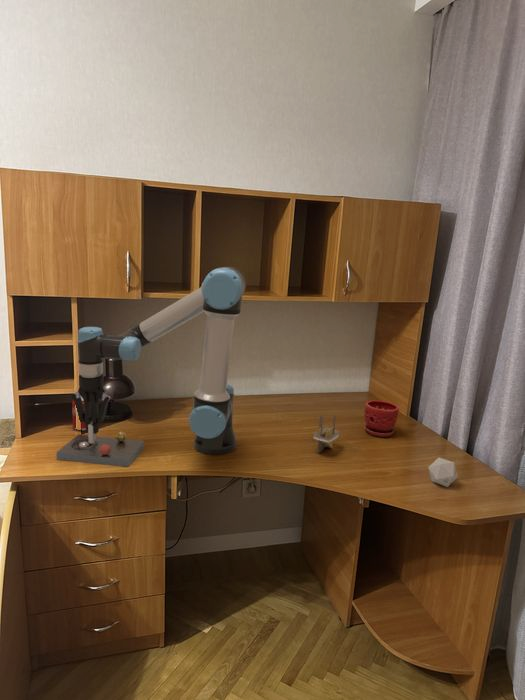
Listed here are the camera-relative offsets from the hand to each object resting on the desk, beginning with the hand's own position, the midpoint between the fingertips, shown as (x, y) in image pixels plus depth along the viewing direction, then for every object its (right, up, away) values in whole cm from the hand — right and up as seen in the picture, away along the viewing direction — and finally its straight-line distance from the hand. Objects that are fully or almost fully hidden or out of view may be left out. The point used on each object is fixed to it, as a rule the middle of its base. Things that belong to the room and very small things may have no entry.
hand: (92, 441), depth 164 cm
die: (+116, -13, -6) cm, 116 cm away
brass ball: (+8, +1, +5) cm, 10 cm away
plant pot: (+105, -3, +33) cm, 110 cm away
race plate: (+3, -4, +1) cm, 5 cm away
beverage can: (-11, +1, +20) cm, 23 cm away
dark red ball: (+6, -1, -6) cm, 9 cm away
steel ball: (-3, -2, +1) cm, 4 cm away
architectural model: (+80, -6, +14) cm, 82 cm away
